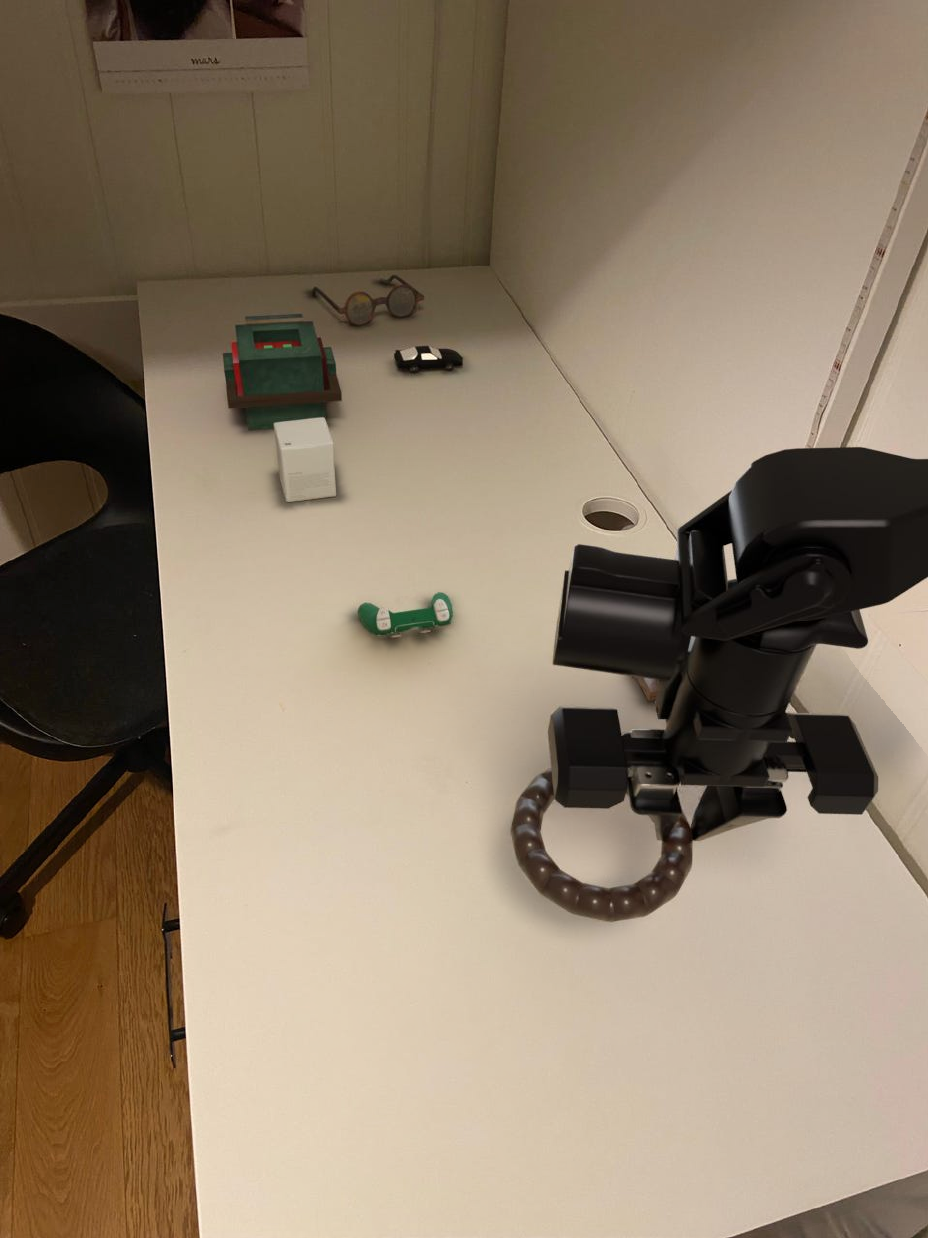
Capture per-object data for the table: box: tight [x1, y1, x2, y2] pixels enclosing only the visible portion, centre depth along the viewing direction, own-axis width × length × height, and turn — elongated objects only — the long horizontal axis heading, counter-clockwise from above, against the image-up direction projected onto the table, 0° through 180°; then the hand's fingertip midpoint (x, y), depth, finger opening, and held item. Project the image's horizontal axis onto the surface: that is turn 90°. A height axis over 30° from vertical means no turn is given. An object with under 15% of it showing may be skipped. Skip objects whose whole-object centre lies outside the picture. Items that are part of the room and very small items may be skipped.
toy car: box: [393, 345, 464, 374], centre depth 123 cm, size 10×4×3 cm, turn 104°
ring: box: [509, 767, 694, 923], centre depth 56 cm, size 12×12×2 cm
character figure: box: [222, 313, 343, 432], centre depth 112 cm, size 14×14×20 cm
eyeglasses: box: [311, 274, 425, 326], centre depth 137 cm, size 15×15×5 cm
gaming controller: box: [357, 591, 454, 639], centre depth 82 cm, size 9×4×6 cm
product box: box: [273, 417, 337, 503], centre depth 98 cm, size 6×6×7 cm
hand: (676, 834), depth 56 cm, fingers closed on ring, 2 cm apart
